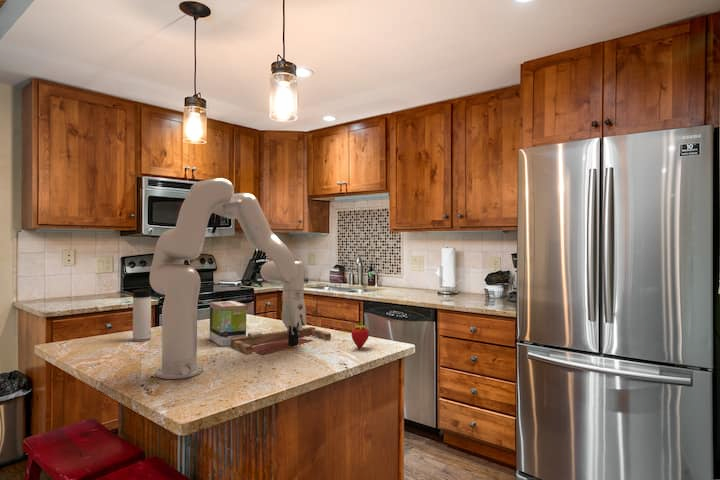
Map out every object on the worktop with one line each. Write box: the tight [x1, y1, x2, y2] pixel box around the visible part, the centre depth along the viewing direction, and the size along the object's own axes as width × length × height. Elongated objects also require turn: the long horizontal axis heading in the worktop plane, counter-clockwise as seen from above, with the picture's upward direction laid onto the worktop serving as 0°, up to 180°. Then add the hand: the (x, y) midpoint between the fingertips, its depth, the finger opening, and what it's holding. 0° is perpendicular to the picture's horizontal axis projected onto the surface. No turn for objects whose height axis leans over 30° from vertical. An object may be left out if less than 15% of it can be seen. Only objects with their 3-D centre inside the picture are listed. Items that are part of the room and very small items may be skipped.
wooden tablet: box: [252, 338, 313, 356], centre depth 162 cm, size 27×10×2 cm, turn 144°
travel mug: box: [132, 286, 153, 343], centre depth 170 cm, size 6×7×20 cm
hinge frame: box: [230, 326, 332, 355], centre depth 166 cm, size 14×35×4 cm, turn 129°
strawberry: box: [350, 324, 370, 349], centre depth 158 cm, size 6×8×10 cm
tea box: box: [209, 300, 248, 347], centre depth 168 cm, size 15×10×15 cm
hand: (293, 344), depth 160 cm, fingers closed
